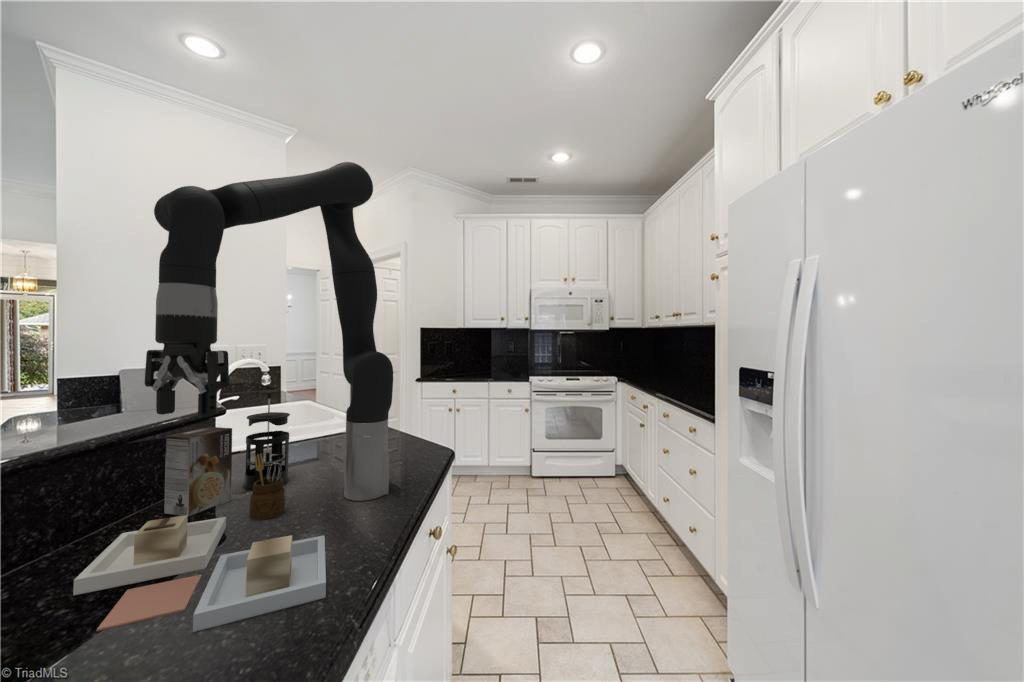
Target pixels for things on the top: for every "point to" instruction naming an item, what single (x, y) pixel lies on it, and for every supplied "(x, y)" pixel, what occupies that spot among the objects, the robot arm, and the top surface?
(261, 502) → the utensil holder
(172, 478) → the coffee box
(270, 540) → the plain cube
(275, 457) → the french press
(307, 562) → the blue tray
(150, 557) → the letter cube
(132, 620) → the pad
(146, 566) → the white tray
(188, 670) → the top surface
